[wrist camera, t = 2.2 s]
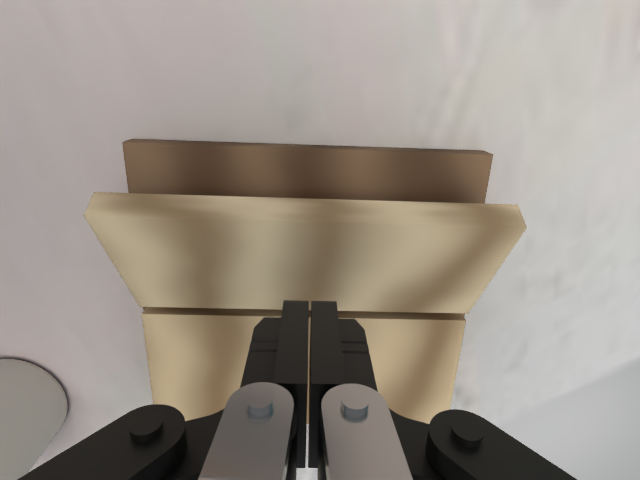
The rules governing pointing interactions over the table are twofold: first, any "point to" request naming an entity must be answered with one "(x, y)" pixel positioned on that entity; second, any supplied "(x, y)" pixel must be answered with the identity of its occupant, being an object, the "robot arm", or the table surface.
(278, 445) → the robot arm
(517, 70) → the table surface
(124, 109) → the table surface
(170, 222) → the oak plank
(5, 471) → the milk bottle
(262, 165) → the floor board
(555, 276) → the table surface
